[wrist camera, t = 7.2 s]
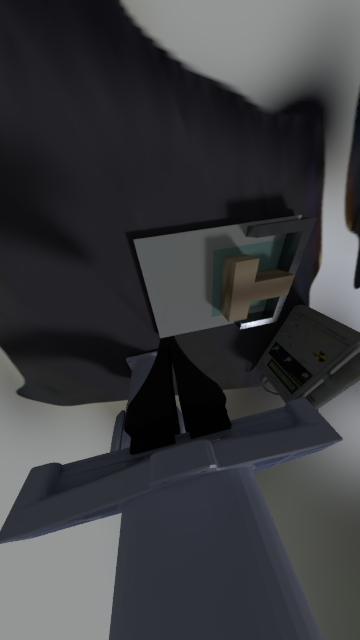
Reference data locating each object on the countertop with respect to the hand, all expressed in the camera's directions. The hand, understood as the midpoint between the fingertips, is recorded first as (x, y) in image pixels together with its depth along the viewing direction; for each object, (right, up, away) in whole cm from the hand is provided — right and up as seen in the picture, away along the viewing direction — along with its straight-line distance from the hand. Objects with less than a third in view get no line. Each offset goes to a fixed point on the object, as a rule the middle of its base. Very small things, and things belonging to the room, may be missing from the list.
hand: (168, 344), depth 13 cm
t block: (+12, +8, +8) cm, 17 cm away
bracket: (+14, +9, +8) cm, 19 cm away
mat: (+7, +8, +9) cm, 14 cm away
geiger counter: (+26, -4, +22) cm, 34 cm away
